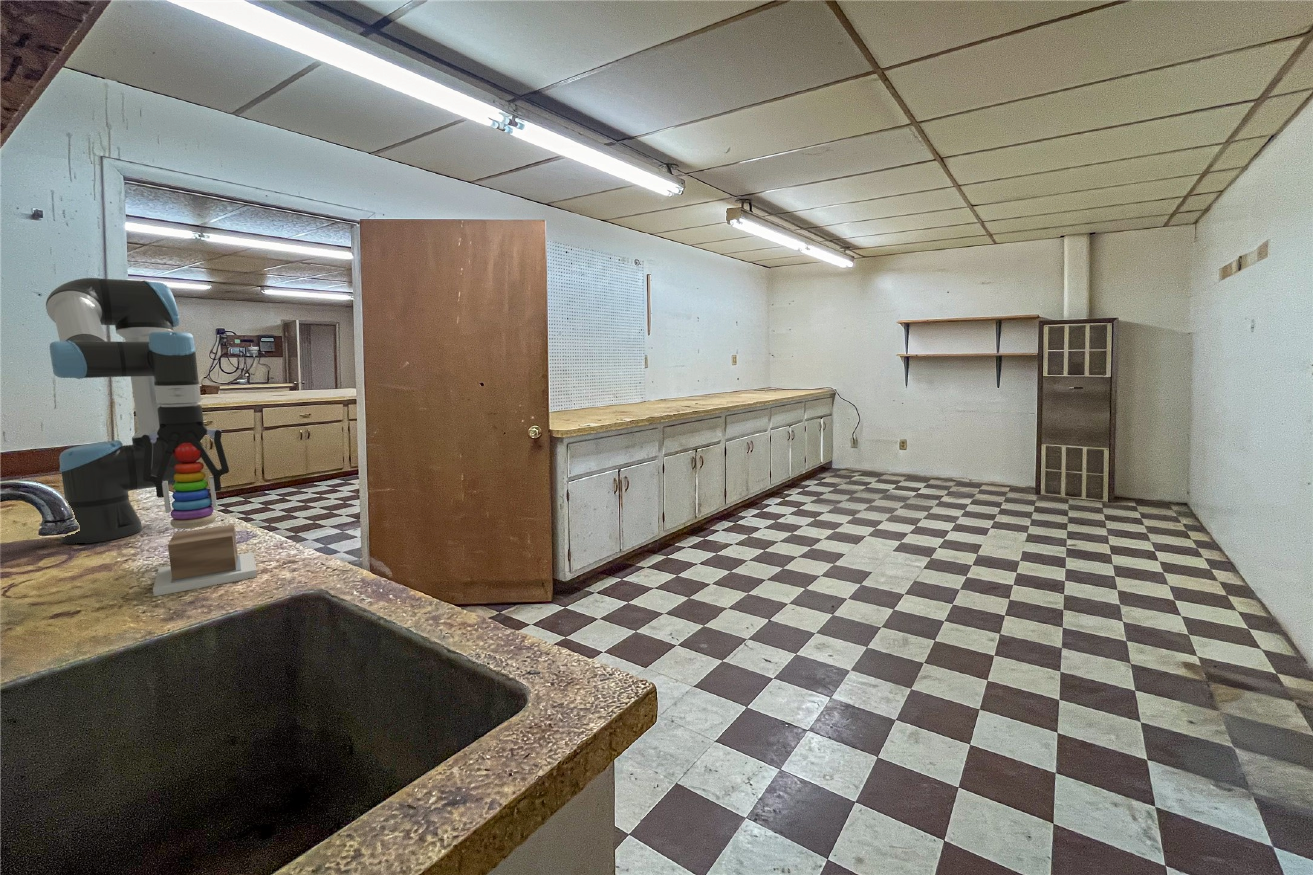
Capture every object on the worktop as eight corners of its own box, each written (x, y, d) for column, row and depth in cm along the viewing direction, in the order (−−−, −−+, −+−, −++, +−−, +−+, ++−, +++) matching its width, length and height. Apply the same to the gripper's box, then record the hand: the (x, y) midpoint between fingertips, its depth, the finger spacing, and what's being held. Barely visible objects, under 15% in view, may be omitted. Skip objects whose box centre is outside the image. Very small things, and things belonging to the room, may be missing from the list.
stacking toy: (192, 531, 128) (181, 444, 125) (161, 528, 130) (150, 443, 127) (225, 520, 136) (216, 438, 133) (195, 518, 137) (186, 437, 134)
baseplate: (160, 574, 123) (158, 566, 122) (254, 558, 132) (253, 551, 132) (153, 596, 111) (152, 587, 111) (257, 576, 121) (256, 568, 120)
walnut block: (178, 565, 123) (174, 532, 122) (237, 556, 128) (234, 524, 127) (172, 580, 115) (167, 545, 114) (236, 569, 120) (232, 535, 119)
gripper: (114, 409, 120) (129, 520, 123) (237, 403, 132) (248, 505, 135) (119, 406, 126) (133, 512, 129) (236, 401, 138) (246, 498, 141)
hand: (191, 508), depth 132 cm, fingers closed on stacking toy, 7 cm apart
